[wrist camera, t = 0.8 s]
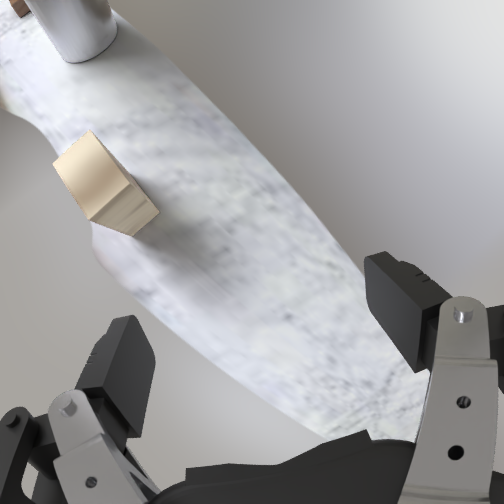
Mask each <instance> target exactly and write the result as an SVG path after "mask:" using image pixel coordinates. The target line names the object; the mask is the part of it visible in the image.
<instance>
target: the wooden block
mask: <svg viewBox="0 0 504 504" xmlns="http://www.w3.org/2000/svg"><path fill="white" fill-rule="evenodd" d="M9 1H10V4H11V6H12V7H13V9H14V10H15V12H16V13H17V15H18V16H19V17H22V16H24V15H25V14H26V13H28V12H29V11H30V9H29V7H28V5H27V4H26V2H25V1H24V0H9Z"/></svg>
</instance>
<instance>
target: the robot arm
mask: <svg viewBox="0 0 504 504" xmlns="http://www.w3.org/2000/svg"><path fill="white" fill-rule="evenodd" d="M24 1H25V2H26V4H27V5H28V7H29V9H30V10H31V12H32V13H33V15H34V16H35V18H36V19H37V21H38V22H39V24H40V25H41V27H42V29H43V30H44V32H45V33H46V35H47V36H48V38H49V39H50V41H51V42H52V44H53V45H54V47H55V48H56V50H57V51H58V52H59V54H60V55H61V57H62V58H63V59H64V60H65V61H67V62H71V63H77V62H83V61H86V60H89V59H91V58H93V57H95V56H96V55H98V54H100V53H101V52H102V51H104V50H105V49H106V48H107V47H108V46H109V45H110V44H111V43H112V41H113V40H114V38H115V36H116V34H117V25H116V22H115V19H114V17H113V14H112V11H111V8H110V6H109V3H108V0H24ZM364 269H365V270H364V271H365V285H366V299H367V303H368V307H369V309H370V311H371V313H372V315H373V316H374V317H375V319H376V320H377V321H378V323H379V324H380V325H381V327H382V328H383V329H384V331H385V332H386V333H387V335H388V336H389V338H390V339H391V340H392V342H393V343H394V345H395V346H396V347H397V349H398V350H399V351H400V353H401V354H402V356H403V357H404V359H405V360H406V361H407V363H408V364H409V366H410V367H411V368H412V370H413V371H414V373H417V372H420V371H422V370H424V369H426V368H427V369H428V370H429V371H430V377H429V382H428V387H427V392H426V397H425V402H424V406H423V411H422V415H421V419H420V423H419V427H418V431H417V434H416V438H415V441H414V443H413V442H409V441H404V440H394V439H382V440H371V438H370V436H369V434H368V432H367V429H366V430H363V431H360V432H357V433H354V434H351V435H348V436H345V437H342V438H339V439H336V440H332V441H329V442H326V443H322V444H320V445H318V446H317V447H315V448H313V449H311V450H309V451H307V452H305V453H303V454H300V455H298V456H296V457H294V458H292V459H290V460H288V461H286V462H283V463H281V464H278V465H247V464H229V463H228V464H222V465H213V466H205V467H195V468H186V479H185V481H182V482H180V483H177V484H175V485H172V486H170V487H169V488H167V489H165V490H163V491H162V492H161V491H160V489H159V488H158V487H157V486H156V485H155V484H154V482H153V481H152V480H151V478H150V477H149V476H148V474H147V473H146V472H145V470H144V469H143V467H142V466H141V465H140V463H139V462H138V460H137V459H136V458H135V456H134V455H133V454H132V452H131V450H130V449H129V448H128V447H127V445H126V442H127V438H140V437H141V434H142V429H143V423H144V418H145V412H146V407H147V403H148V397H149V393H150V388H151V383H152V379H153V374H154V370H155V355H154V352H153V349H152V347H151V345H150V343H149V341H148V339H147V338H146V335H145V333H144V331H143V330H142V327H141V325H140V323H139V321H138V319H137V318H136V317H135V316H134V315H129V316H125V317H120V318H116V319H113V320H112V322H111V324H110V327H109V329H108V331H107V333H106V334H105V335H103V336H102V338H101V339H100V340H99V341H98V342H97V343H96V344H95V346H94V348H93V350H92V352H91V356H89V358H88V361H87V364H86V365H85V367H84V369H83V371H82V373H81V375H80V378H79V380H78V382H77V385H76V387H75V389H74V390H69V391H66V392H64V393H62V394H60V395H59V396H58V397H56V398H55V399H54V401H53V402H52V403H51V405H50V407H49V410H48V414H44V415H41V416H38V417H35V418H34V417H33V416H32V415H31V414H30V413H29V412H28V411H27V409H26V408H24V407H16V408H13V409H11V410H10V411H9V412H7V413H6V414H5V415H4V416H3V418H2V419H1V421H0V504H504V474H502V473H499V472H495V471H492V469H493V462H494V454H495V445H496V433H497V415H498V387H499V388H500V390H501V391H502V393H503V394H504V305H500V306H495V307H489V308H485V306H484V305H483V304H482V303H481V302H479V301H478V300H476V299H474V298H470V297H464V296H459V297H452V296H451V295H450V294H449V293H448V292H446V291H445V290H444V289H443V288H442V287H441V286H439V285H438V284H437V283H436V282H435V281H433V280H431V279H430V277H429V276H427V275H426V274H424V273H423V272H422V271H421V270H420V269H419V268H418V267H416V266H415V265H413V264H410V263H407V262H404V261H400V262H398V261H397V260H396V259H395V258H394V257H392V256H391V255H390V254H389V253H388V252H386V251H384V252H381V253H377V254H374V255H370V256H367V257H365V259H364ZM27 462H29V463H30V464H31V465H32V466H33V467H34V468H35V469H36V470H37V471H39V473H38V476H37V480H36V483H35V487H34V491H33V495H32V499H31V500H30V499H29V498H28V497H27V496H25V494H24V493H23V490H22V487H21V481H22V478H23V474H24V471H25V468H26V465H27Z"/></svg>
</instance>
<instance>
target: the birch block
mask: <svg viewBox="0 0 504 504" xmlns="http://www.w3.org/2000/svg"><path fill="white" fill-rule="evenodd" d="M53 165H54V167H55V169H56V170H57V172H58V174H59V175H60V177H61V179H62V180H63V182H64V183H65V185H66V186H67V188H68V190H69V191H70V193H71V194H72V196H73V197H74V199H75V200H76V202H77V204H78V205H79V206H80V208H81V209H82V211H83V212H84V214H85V215H86V217H87V218H88V220H90V221H92V222H95V223H97V224H100V225H103V226H105V227H108V228H110V229H113V230H116V231H118V232H121V233H124V234H126V235H129V236H134V235H135V234H136V233H137V232H138V231H139V230H140V229H141V228H143V227H144V226H145V225H146V224H147V223H148V222H150V221H151V220H152V219H153V218H154V217H155V216H157V215H158V214H159V213H160V212H159V211H158V209H157V208H156V207H155V206H154V204H153V203H152V202H151V201H150V199H149V198H148V197H147V195H146V194H145V193H144V192H143V190H142V189H141V188H140V186H139V185H138V184H137V183H136V181H135V180H134V179H133V177H132V176H131V175H130V174H129V172H128V171H127V170H126V169H125V168H124V167H123V166H122V165H121V164H120V162H119V161H118V160H117V159H116V158H115V157H114V156H113V155H112V154H111V153H110V151H109V150H108V149H107V148H106V147H105V146H104V145H103V144H102V143H101V141H100V140H99V139H98V138H97V137H96V136H95V135H94V134H93V132H92V131H91V130H89V131H88V132H86V133H85V134H84V135H83V136H82V137H81V138H80V139H78V140H77V141H76V142H75V143H74V144H73V145H72V146H71V147H70V148H69V149H67V150H66V151H65V152H64V153H63V154H62V155H61V156H60V157H59V158H58V159H57V160H56V161H55V162H54V163H53Z"/></svg>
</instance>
